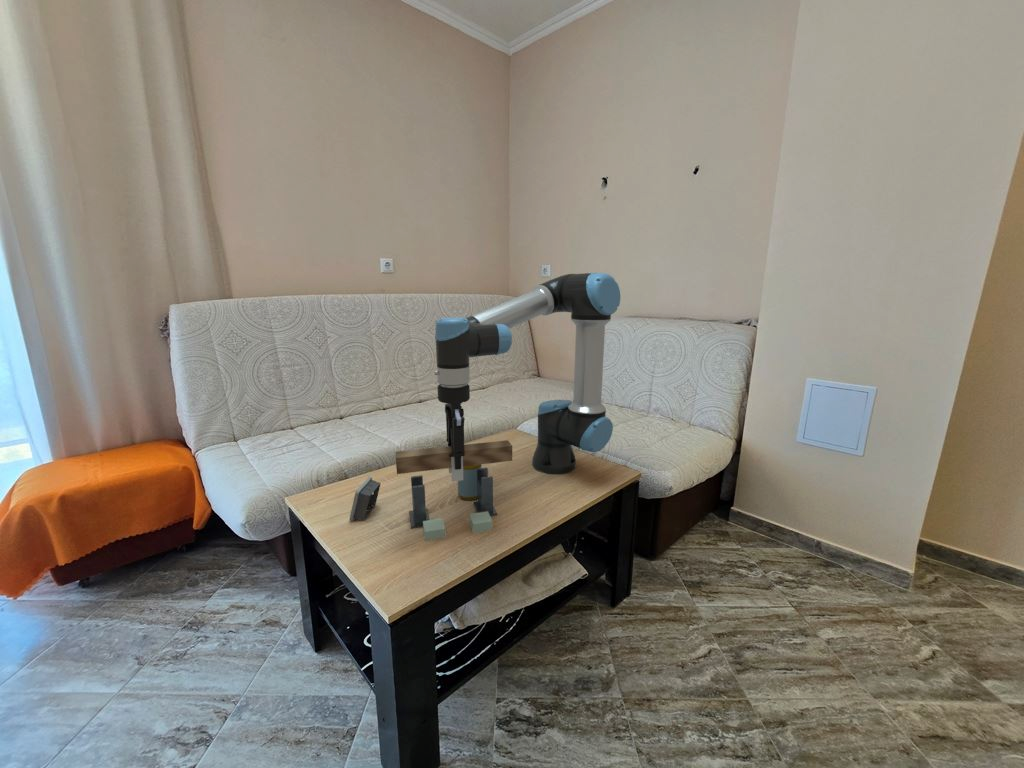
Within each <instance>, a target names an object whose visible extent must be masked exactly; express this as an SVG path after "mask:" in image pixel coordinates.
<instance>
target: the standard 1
mask: <svg viewBox="0 0 1024 768" xmlns="http://www.w3.org/2000/svg"><path fill="white" fill-rule="evenodd" d="M423 477H424V476H423V475H422V474H421V475H420V474H419V475H413V476H410V484H411V499H412V500H411V502H412V510H409V511H408V514H409V525H410V530H411V529H418V528H423V521H427V520H431V519H430V514H429V509H428V508H427V507H426V491H425V490H426V488H425V484H424V480H423Z"/></svg>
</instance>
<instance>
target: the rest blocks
mask: <svg viewBox="0 0 1024 768" xmlns="http://www.w3.org/2000/svg"><path fill="white" fill-rule="evenodd" d="M468 518H469V526H470V528H471V531H472V533H473V534H476V533H483V532H488V531H493V526H494V525H493V519H492V516H490V515H489V513H488V511H487V512H480V513H477V512H475V513H469V517H468ZM422 528H423V536H424V541H425V542H428V541H434V540H440V539H445V538H447V537H446V525H445V522H444V519H443V518H442V517H441V518H436V519H435V518H434V519H430V520H427V521H423V527H422Z"/></svg>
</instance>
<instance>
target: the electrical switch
mask: <svg viewBox="0 0 1024 768" xmlns="http://www.w3.org/2000/svg"><path fill="white" fill-rule="evenodd" d="M380 488H381V482H378V481H376V480H373V477H372V476H368V477H367V478H366V479H365V481H364V482H362V484H361V485H360V486H359V487H358V488H357V489H356V491H355V494H354V496H353V503H352V505H351V510H350V514H349V521H351V522H354V520H358V521H362V522H365V521H366V519H367V518H368V516H369V515H370V514H371V512H372V511H373V510H374V509H375V507H376V505H377V501H378V497H379V496H378V495H379V493H380Z"/></svg>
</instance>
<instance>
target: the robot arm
mask: <svg viewBox="0 0 1024 768" xmlns="http://www.w3.org/2000/svg"><path fill="white" fill-rule="evenodd" d="M620 303H621V289H620V286H619V283H618V282H617V281H616V280H615V278H614V277H613V276H612V275H610V274H608V273H605V272H604V273H603V272H590V273H588V272H587V273H585V272H584V273H568V274H564V275H560V276H557V277H555V278H552V279H549V280H547V281H545V282H543V283H541V284H538V285H536V286H534V287H533V289H532V290H531V291H529V292H526V293H525V294H522V295H520V296H517V297H515V298H512V299H509V300H507V301H505V302H503V303H499V304H497V305H495V306H492V307H490V308H488V309H485V310H482V311H480V312H477V313H475V314H473V315H471V316H468V317H467V316H466V317H441V318H438V319H437V321H435V322H436V323H435V333H434V334H435V336H434V339H435V352H436V354H435V356H436V370H435V371H434V373H433V374H434V375H435V376H436V379H437V384H438V385H437V400H438V401H439V402H440V403H443V404H444V412H445V420H446V421H445V422H446V424H445V425H446V439H445V440H446V442H447V446H452V454H449V457H451V468H448V473H449V474H451V481H452V482H458V481H460V480H463V456H464V454H465V452H464V445H465V420H466V418H465V416H464V415H465V413H464V412H465V411H464V408H463V406H462V404H463V403H466V402H468V401H469V400H470V396H471V395H470V393H471V392H470V390H471V389H470V387H471V386H470V385H469V383H470V382H471V381H470V380H471V379H470V376H471V374H470V372H471V371H470V358H475V357H485V356H498V355H501V354H505V353H508V352H509V351H510V349H511V348H512V344H513V339H512V338H513V335H512V332H511V330H510V329H512V328H514V327H517V326H518V325H521V324H523V323H526V322H528V321H530V320H532V319H534V318H538V317H539V316H550V315H551V314H556V313H570V320H571V321H572V323H573V324H574V325H575V342H574V343H575V345H574V346H575V347H574V349H575V351H574V371H573V372H574V377H573V397H572V398H573V401H572V400H569V399H550V400H546V401H542V402H541V403H539V404H538V411H537V445H536V447H535V450H534V453H533V456H532V461H531V462H532V467H533V468H534V469H535V470H537V471H539V472H541V473H545V474H552V475H555V474H556V475H558V474H559V475H560V474H566V473H570V472H572V471H574V470H575V469H576V466H577V465H576V463H577V459H576V455H575V452H574V449H573V447H575V448H579V449H581V451H587V452H590V453H597V452H600V451H601V450H603V449H604V448H605V447H606V446H607V445H608V443H609V442H610V440H611V437H612V435H613V431H614V425H613V422H612V420H611V419H610V418H608V417H606V415H607V414H606V411H607V410H606V409H607V408H606V407H605V405H603V403H602V396H603V395H602V393H603V392H602V391H603V375H604V374H603V373H604V372H603V370H604V354H605V353H604V352H605V334H606V333H605V332H606V325H607V324H609V322H611V317H612V315H613V314H614V313H616V312H617V311H618V307H620Z"/></svg>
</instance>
